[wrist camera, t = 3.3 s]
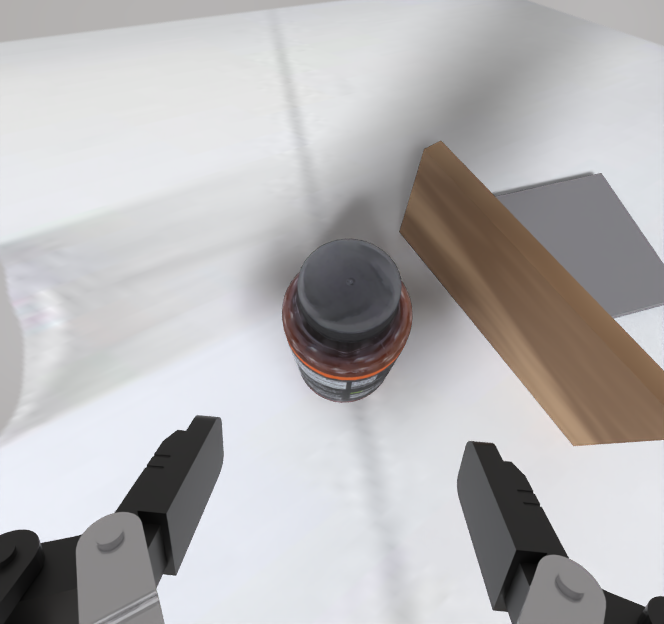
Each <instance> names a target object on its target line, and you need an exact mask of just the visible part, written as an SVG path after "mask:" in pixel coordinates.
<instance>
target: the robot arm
mask: <svg viewBox="0 0 664 624" xmlns="http://www.w3.org/2000/svg"><path fill="white" fill-rule="evenodd" d="M223 456H224V451H223V435H222V421H221V418H220V417H211V416H200V415H197V416H196V417H195V418H194V419H193V421H192V422H191V424H190V426H189V427H188V429H187V430H186V431H183V430H177V431H175V432H174V433H173V434H172V435H170V436H169V437H168V438H166V439H165V440H164V441H163V442H162V444H161V445H160V447H159V448H158V449H157V451H156V452H155V454H154V457H152V458H151V460H150V461H149V463H148V464H147V467H146V468H145V469H144V470H143V472H142V473H141V475H140V476H139V478H138V479H137V481H136V482H135V484H134V485H133V486H132V488H131V489H130V491H129V492H128V494H127V495H126V497H125V498H124V500H123V501H122V503H121V504H120V506H119V507H118V509H117V510H116V511H115V513H113V514H110V515H107V516H105V517H103V518H101V519H99V520H97V521H96V522H95V523H93V524H92V525H91V526H90V527H89V528H87V530H86V531H85V532H84V533H83V534H82V535H78V536H74V537H70V538H65V539H59V540H54V541H49V542H44V543H40V540H39V538H38V536H37V534H36V533H34V532H33V531H30V530H15V531H11V532H7V533H4V534H2V535H0V624H164V619H163V615H162V610H161V606H160V601H159V597H158V594H157V590H156V588H157V586H158V583H159V581H160V579H161V577H162V575H163V574H166V575H175V576H176V575H177V572H178V570H179V568H180V565H181V563H182V561H183V558H184V556H185V554H186V551H187V549H188V547H189V544H190V542H191V540H192V537H193V535H194V533H195V530H196V528H197V526H198V523H199V521H200V519H201V516H202V514H203V512H204V509H205V507H206V505H207V502H208V500H209V498H210V495H211V493H212V491H213V488H214V486H215V484H216V481H217V479H218V477H219V474H220V471H221V468H222V464H223ZM457 490H458V496H459V500H460V503H461V507H462V510H463V513H464V517H465V520H466V523H467V526H468V530H469V533H470V536H471V540H472V543H473V546H474V550H475V553H476V556H477V559H478V563H479V566H480V569H481V573H482V576H483V579H484V583H485V586H486V589H487V593H488V596H489V599H490V602H491V606H492V609H493V610H495V611H505V612H508V613H509V616H510V619H511V622H512V624H664V597H663V596H659V597H654V598H652V599H651V600H650V601H649V603H648V604H647V606H646V607H644V606H642V605H639V604H637V603H634V602H632V601H629V600H627V599H624V598H622V597H619V596H617V595H614V594H612V593H610V592H607V591H605V590H603V589H602V588H601V587H600V585H599V584H598V582H597V581H596V580H595V578H594V577H593V576H592V575H591V574H590V573H589V572H588V571H587V570H586V569H585V568H583V567H582V566H581V565H579V564H578V563H576V562H574V561H573V560H571V559H569V557H568V556H567V554H566V552H565V550H564V548H563V546H562V544H561V543H560V541H559V539H558V537H557V535H556V533H555V531H554V529H553V527H552V526H551V524H550V522H549V520H548V518H547V516H546V514H545V512H544V510H543V509H542V507H540V503H539V501H538V499H537V497H536V495H535V494H533V490H532V488H531V486H530V484H529V482H528V480H527V478H526V477H525V475H524V474H523V473H522V472H521V471H520V470H519V469H518V468H517V467H516V466H515V465H514V464H513V463H512V462H507V461H503V460H502V458H501V456H500V454H499V452H498V450H497V448H496V446H495V445H494V444H493V443H486V442H475V441H468V442H467V444H466V447H465V451H464V455H463V458H462V462H461V466H460V470H459V474H458V479H457Z"/></svg>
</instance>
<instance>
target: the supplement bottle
mask: <svg viewBox="0 0 664 624" xmlns="http://www.w3.org/2000/svg"><path fill="white" fill-rule="evenodd" d="M282 321H283V326H284V331H285V334H286V337H287V340H288V343H289V346H290V348H291V351H292V353H293V356H294V358H295V361H296V363H297V366H298V369H299V371H300V373H301V375H302V377H303V379H304V381H305V383H306V384H307V385H308V386H309V387H310V389H312V390H313V391H314V392H315V393H316V394H318V395H319V396H321V397H323V398H325V399H328V400H331V401H334V402H340V403H342V402H353V401H357V400H360V399H363V398H365V397H366V396H368V395H370V394H371V393H372V392H374V391H375V390H376V389H377V388H378V387H379V386H380V385H381V384H382V382H383V381H384V379H385V377H386V376H387V374H388V373H389V371H390V369H391V368H392V366H393V365H394V363H395V361H396V359H397V358H398V356H399V355H400V353H401V351H402V349H403V348H404V346H405V344H406V341H407V339H408V336H409V333H410V330H411V325H412V305H411V301H410V297H409V295H408V292H407V290H406V287H405V286H404V284H403V282H402V281H401V277H400V274H399V271H398V269H397V267H396V265H395V263H394V262H393V260H392V259H391V258H390V257H389V256H388V255H387V254H386V253H385V252H384V251H383V250H381V249H380V248H379V247H377V246H375V245H373V244H371V243H368V242H365V241H362V240H356V239H342V240H335V241H333V242H329V243H327V244H324V245H322V246H321V247H319V248H318V249H316V250H315V251H314V252H313V253H312V254H311V255H310V256H309V257H308V258H307V259H306V260H305V262H304V264H303V265H302V267H301V270H300V272H299V273H298V274H297V275H296V276H295V277H294V279H293V280H292V281H291V283H290V285H289V287H288V289H287V291H286V294H285V296H284V301H283V309H282Z"/></svg>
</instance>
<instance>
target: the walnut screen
mask: <svg viewBox="0 0 664 624" xmlns="http://www.w3.org/2000/svg"><path fill="white" fill-rule="evenodd" d="M399 232H400V233H401V234H402V236H403V237H404V238H405V239H406V241H407V242H408V243H409V244H410V245H411V247H412V248H413V249H414V250H415V252H416V253H417V254H418V255H419V256H420V258H421V259H422V260H423V261H424V263H425V264H426V265H427V266H428V268H429V269H430V270H431V271H432V272H433V274H434V275H435V276H436V277H437V279H438V280H439V281H440V282H441V284H442V285H443V286H444V287H445V288H446V290H447V291H448V292H449V293H450V295H451V296H452V297H453V298H454V300H455V301H456V302H457V303H458V304H459V306H460V307H461V308H462V309H463V311H464V312H465V313H466V314H467V316H468V317H469V318H470V319H471V320H472V322H473V323H474V324H475V325H476V327H477V328H478V329H479V330H480V332H481V333H482V334H483V335H484V336H485V338H486V339H487V340H488V341H489V343H490V344H491V345H492V346H493V348H494V349H495V350H496V351H497V352H498V354H499V355H500V356H501V357H502V359H503V360H504V361H505V362H506V363H507V365H508V366H509V367H510V368H511V370H512V371H513V372H514V373H515V375H516V376H517V377H518V378H519V379H520V381H521V382H522V383H523V384H524V386H525V387H526V388H527V389H528V391H529V392H530V393H531V394H532V395H533V397H534V398H535V399H536V400H537V402H538V403H539V404H540V405H541V407H542V408H543V409H544V410H545V411H546V413H547V414H548V415H549V416H550V418H551V419H552V420H553V421H554V423H555V424H556V425H557V426H558V427H559V429H560V430H561V431H562V432H563V434H564V435H565V436H566V437H567V439H568V440H569V441H570V442H571V443H572V445H573V446H582V445H596V444H611V443H625V442H640V441H654V440H664V370H663V369H662V368H661V367H660V366H659V365H658V364H657V363H656V362H655V361H654V360H653V359H652V358H651V357H650V356H649V355H648V354H647V353H646V352H645V351H644V350H643V349H642V348H641V347H640V346H639V345H638V344H637V343H636V342H635V341H634V339H633V338H632V337H631V336H630V335H629V334H628V333H627V332H626V331H625V330H624V329H623V328H622V327H621V326H620V325H619V324H618V323H617V322H616V321H615V320H614V319H613V318H612V317H611V316H610V315H609V314H608V313H607V312H606V311H605V310H604V308H603V307H602V306H601V305H600V304H599V303H598V302H597V301H596V300H595V299H594V298H593V297H592V296H591V295H590V294H589V293H588V292H587V291H586V290H585V289H584V288H583V287H582V286H581V285H580V284H579V283H578V282H577V281H576V280H575V279H574V277H573V276H572V275H571V274H570V273H569V272H568V271H567V270H566V269H565V268H564V267H563V266H562V265H561V264H560V263H559V262H558V261H557V260H556V259H555V258H554V257H553V256H552V255H551V254H550V253H549V252H548V251H547V250H546V249H545V248H544V246H543V245H542V244H541V243H540V242H539V241H538V240H537V239H536V238H535V237H534V236H533V235H532V234H531V233H530V232H529V231H528V230H527V229H526V228H525V227H524V226H523V225H522V224H521V223H520V222H519V221H518V220H517V219H516V218H515V217H514V216H513V214H512V213H511V212H510V211H509V210H508V209H507V208H506V207H505V206H504V205H503V204H502V203H501V202H500V201H499V200H498V199H497V198H496V197H495V196H494V195H493V194H492V193H491V192H490V191H489V190H488V189H487V188H486V187H485V186H484V185H483V183H482V182H481V181H480V180H479V179H478V178H477V177H476V176H475V175H474V174H473V173H472V172H471V171H470V170H469V169H468V168H467V167H466V166H465V165H464V164H463V163H462V162H461V161H460V160H459V159H458V158H457V157H456V156H455V155H454V154H453V152H452V151H451V150H450V149H449V148H448V147H447V146H446V145H445V144H444V143H443V142H442V141H439V142H437V143H435V144H433V145H431V146H429V147H427V148H425V149H424V151H423V154H422V158H421V161H420V164H419V168H418V171H417V175H416V178H415V181H414V185H413V188H412V191H411V195H410V198H409V201H408V205H407V208H406V211H405V215H404V218H403V221H402V225H401V228H400V231H399Z"/></svg>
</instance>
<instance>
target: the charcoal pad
mask: <svg viewBox="0 0 664 624" xmlns="http://www.w3.org/2000/svg"><path fill="white" fill-rule="evenodd" d="M495 197H496V198H497V199H498V200H499V201H500V202H501V203H502V204H503V205H504V206H505V207H506V208H507V209H508V210H509V211H510V212H511V213H512V214H513V216H514V217H515V218H516V219H517V220H518V221H519V222H520V223H521V224H522V225H523V226H524V227H525V228H526V229H527V230H528V231H529V232H530V233H531V234H532V235H533V236H534V237H535V238H536V239H537V240H538V241H539V242H540V243H541V244H542V245H543V246H544V248H545V249H546V250H547V251H548V252H549V253H550V254H551V255H552V256H553V257H554V258H555V259H556V260H557V261H558V262H559V263H560V264H561V265H562V266H563V267H564V268H565V269H566V270H567V271H568V272H569V273H570V274H571V275H572V276H573V277H574V279H575V280H576V281H577V282H578V283H579V284H580V285H581V286H582V287H583V288H584V289H585V290H586V291H587V292H588V293H589V294H590V295H591V296H592V297H593V298H594V299H595V300H596V301H597V302H598V303H599V304H600V305H601V306H602V307H603V308H604V310H605V311H606V312H607V313H608V314H609V315H610V316H611V317H612V318H617V317H620V316H624V315H628V314H632V313H635V312H639V311H643V310H647V309H650V308H654V307H658V306H662V305H664V264H663V262H662V261H661V260H660V258H659V257H658V255H657V254H656V252H655V251H654V249H653V248H652V246H651V245H650V243H649V242H648V241H647V239H646V238H645V236H644V235H643V233H642V232H641V230H640V229H639V227H638V226H637V224H636V223H635V221H634V220H633V219H632V217H631V216H630V214H629V213H628V211H627V210H626V208H625V207H624V205H623V204H622V202H621V201H620V200H619V198H618V197H617V195H616V194H615V192H614V191H613V189H612V188H611V186H610V185H609V183H608V182H607V181H606V179H605V178H604V176H603V175H602V173H599V174H594V175H590V176H585V177H581V178H576V179H572V180H567V181H563V182H558V183H554V184H549V185H545V186H540V187H536V188H531V189H527V190H522V191H518V192H513V193H509V194H504V195H499V196H495Z"/></svg>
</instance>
